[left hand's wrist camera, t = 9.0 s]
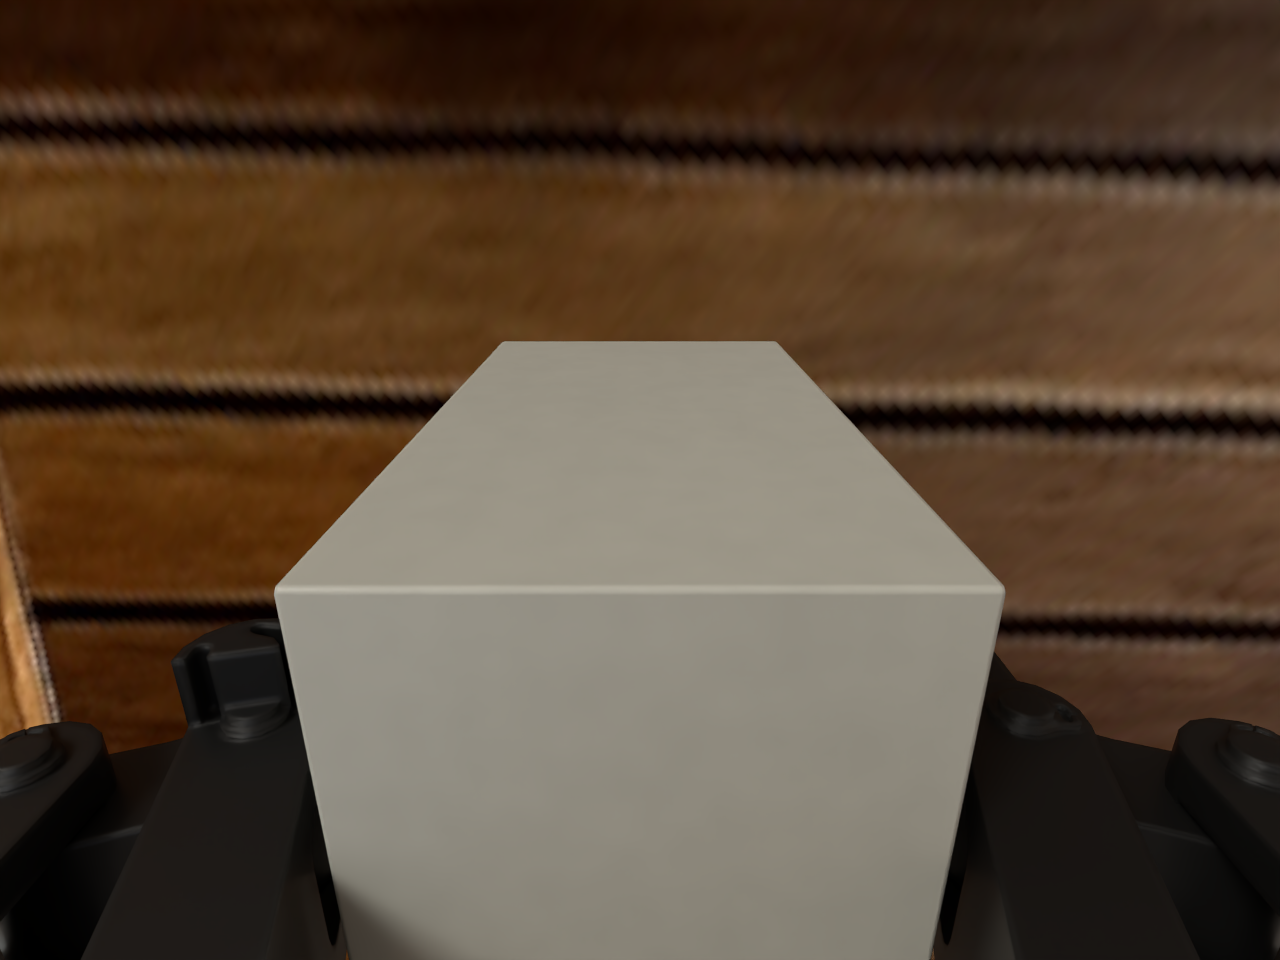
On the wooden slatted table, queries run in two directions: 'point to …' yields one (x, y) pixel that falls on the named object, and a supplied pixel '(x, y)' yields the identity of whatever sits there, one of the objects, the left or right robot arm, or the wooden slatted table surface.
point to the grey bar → (639, 671)
